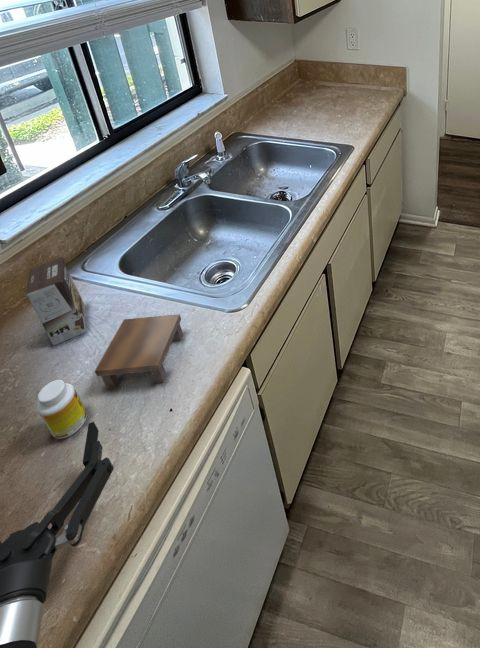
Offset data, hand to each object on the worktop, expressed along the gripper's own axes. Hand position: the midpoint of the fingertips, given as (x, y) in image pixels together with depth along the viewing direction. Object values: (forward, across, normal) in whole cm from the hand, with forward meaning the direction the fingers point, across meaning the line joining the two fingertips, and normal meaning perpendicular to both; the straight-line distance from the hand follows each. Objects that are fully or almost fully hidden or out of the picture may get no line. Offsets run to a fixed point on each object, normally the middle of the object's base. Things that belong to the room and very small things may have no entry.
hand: (45, 447), depth 72 cm
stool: (+17, +13, -8) cm, 23 cm away
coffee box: (+35, -4, -8) cm, 36 cm away
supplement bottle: (+9, 0, -8) cm, 12 cm away
